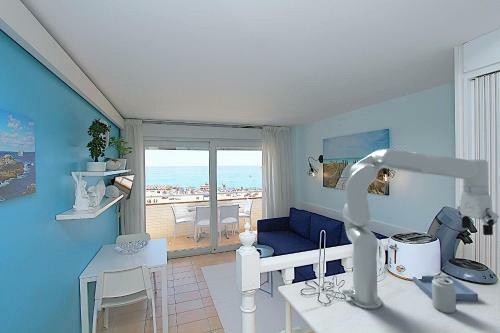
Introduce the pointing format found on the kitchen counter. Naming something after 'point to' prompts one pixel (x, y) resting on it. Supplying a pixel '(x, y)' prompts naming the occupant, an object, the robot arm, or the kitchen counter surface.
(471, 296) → the tray
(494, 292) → the kitchen counter surface
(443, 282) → the can
